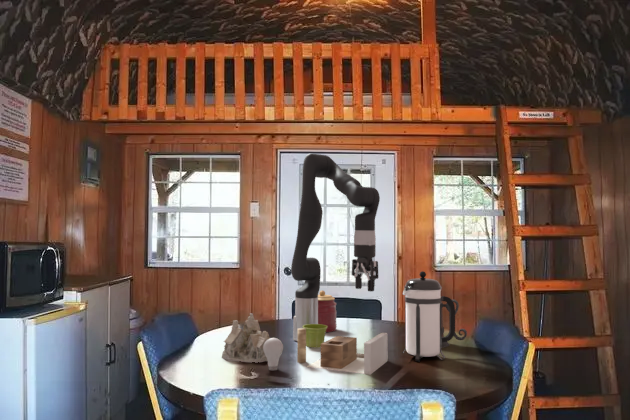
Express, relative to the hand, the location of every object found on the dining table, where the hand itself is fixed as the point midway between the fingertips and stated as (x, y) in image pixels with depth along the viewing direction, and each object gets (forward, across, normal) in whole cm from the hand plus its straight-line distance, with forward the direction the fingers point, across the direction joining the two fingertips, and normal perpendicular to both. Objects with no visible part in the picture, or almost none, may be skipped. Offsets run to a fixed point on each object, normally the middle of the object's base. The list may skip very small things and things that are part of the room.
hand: (364, 289), depth 181 cm
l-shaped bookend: (+23, +10, -12) cm, 28 cm away
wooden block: (+23, +6, 0) cm, 24 cm away
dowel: (+24, +2, -25) cm, 34 cm away
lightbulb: (+24, +7, -36) cm, 44 cm away
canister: (+24, -52, +9) cm, 58 cm away
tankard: (+24, -8, +37) cm, 45 cm away
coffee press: (+24, +8, +20) cm, 32 cm away
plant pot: (+24, -18, -10) cm, 32 cm away
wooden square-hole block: (+22, +8, -14) cm, 27 cm away
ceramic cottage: (+24, -17, -37) cm, 47 cm away
